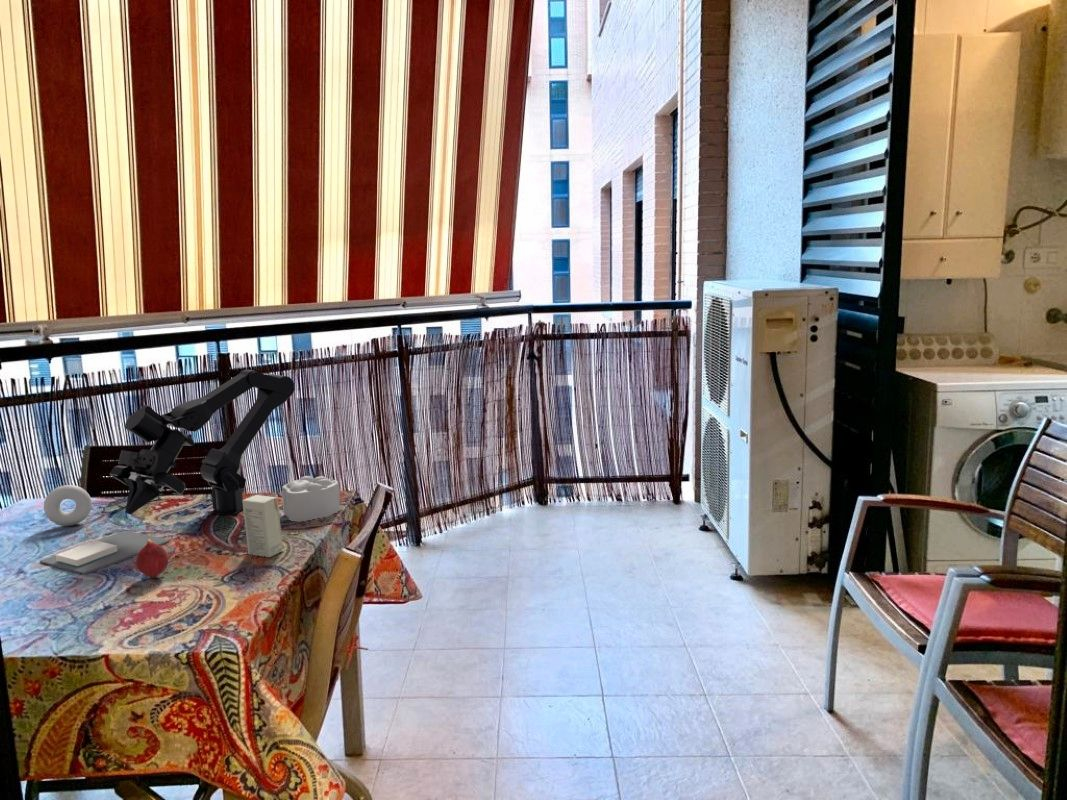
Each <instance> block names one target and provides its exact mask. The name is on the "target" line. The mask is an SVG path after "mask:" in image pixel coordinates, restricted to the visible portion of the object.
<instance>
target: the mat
mask: <svg viewBox="0 0 1067 800" xmlns="http://www.w3.org/2000/svg"><path fill="white" fill-rule="evenodd" d="M148 539H150V540H152V542H154V543H155V544H158V545H160V546H163V545H165V544H167V543H170V539H165V538H162V537H156V536H152V535H149V534H142V533H139V532H134V531H129V530H123V531H120V532H117V533H114V534H111V535H109V536H106V537H103V538H100V539H96V541H100V542H104V543H109V544H113V545H117V552H116V553H114V554H111V555H109V556H106V557H103V558H101V559H98V560H95V561H93V562H90V563H87V564H85V565H82V566H79V567H76V566H72V565H69V564H65V563H61V562H58V561H56V554H55V555H52V556H49V557H46V558H43V559H41V560H39V563H40V562H41V563H40V564H44V563H45V564H44V565H47V564H48V565H47V566H51V565H52V567H55V568H58V569H64V570H66V571H70V572H74V573H79V574H82V575H87V574H91V573H93V572H96V571H98V570H101V569H103V568H106V567H108V566H111V565H114V564H116V563H119V562H121V561H123V560H127V559H129V558H132V557H134V556H137V555H138V553H139V551H140V550H141V549H142V548H143V547H144V546H145V545H147V541H148Z"/></svg>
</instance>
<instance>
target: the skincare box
mask: <svg viewBox="0 0 1067 800" xmlns="http://www.w3.org/2000/svg"><path fill="white" fill-rule="evenodd" d="M242 502H243V510H242V511H243V517H244V518H243V519H244V527H245V534H246V543H247V544H246V545H247V554H248V555H252V554H253V555H252V556H258V555H259V557H264V556H265V558H271V557H273V556H275V555H278V554H279V553H280V552H283V551H284V548H283V546H284V545H283V537H282V529H281V519H280V507H279V501H278V497H276V496H270V495H269V496H268V495H262V494H255V495H252V496H250V497H247V498H245V499H244V498H243V500H242Z"/></svg>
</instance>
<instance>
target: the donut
mask: <svg viewBox="0 0 1067 800" xmlns="http://www.w3.org/2000/svg"><path fill="white" fill-rule="evenodd" d="M65 500H72V501H74V503H75V508H74V509H73V510H71V511H65V510H63V509H62V508H61V504H62V502H63V501H65ZM92 506H93V502H92V499H91V496H90V494H89V493H88V492H87V490H85V489H84V488H83V487H81V486H79V485H78V486H77V485H74V484H63V485H59V486H57V487H56V488H54V489H53V490H51V491H50V492H49V493H48V494H47V495H46V497H45V499H44V502H43V511H44V514H45V516H46V517H47V519H48V520H49V521H50V522H51V523H54V524H55V525H56V526H61V527H73V526H75V525H78V524H80V523H81V522H83V521H85V519H87V518H88V516H89V515H90V513H91V511H92V509H93V507H92Z"/></svg>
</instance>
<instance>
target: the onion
mask: <svg viewBox="0 0 1067 800" xmlns="http://www.w3.org/2000/svg"><path fill="white" fill-rule="evenodd" d="M169 560H170V559H169V554H168V552H167V550H166V549H165V547H163V545H158V544H155V543H154V542H152V540H150V539H148V541H147V545H145V546H144V547H143V548H142V549H141V550H140V551H139V553H138V554H137V555H136V557H135V566H136V569H137V570H138V571H139V572H140V573H141V574H142V575H144V576H146V577H149V578H151V579H155V578H157V577H158V576H159V575H161V574H162V573H163V572H164V571H165V569H166V568H167V566H168V565H169Z"/></svg>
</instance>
